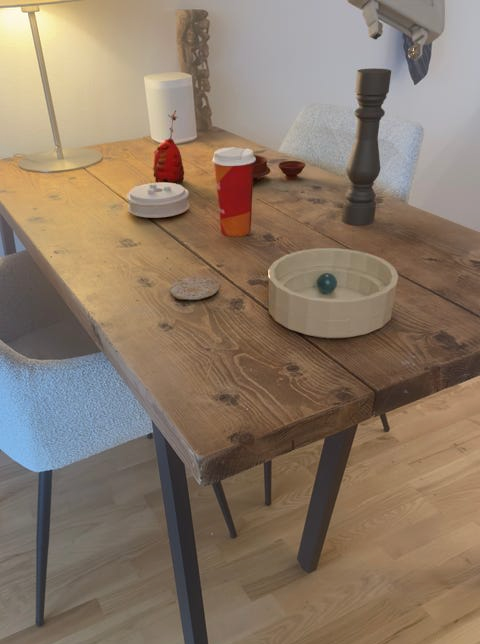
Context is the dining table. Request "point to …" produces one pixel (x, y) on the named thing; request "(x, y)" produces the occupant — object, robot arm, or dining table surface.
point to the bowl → (338, 306)
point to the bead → (326, 283)
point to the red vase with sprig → (168, 161)
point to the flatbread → (194, 288)
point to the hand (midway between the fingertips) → (395, 47)
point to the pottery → (287, 167)
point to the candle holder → (365, 146)
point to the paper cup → (234, 189)
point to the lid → (158, 200)
